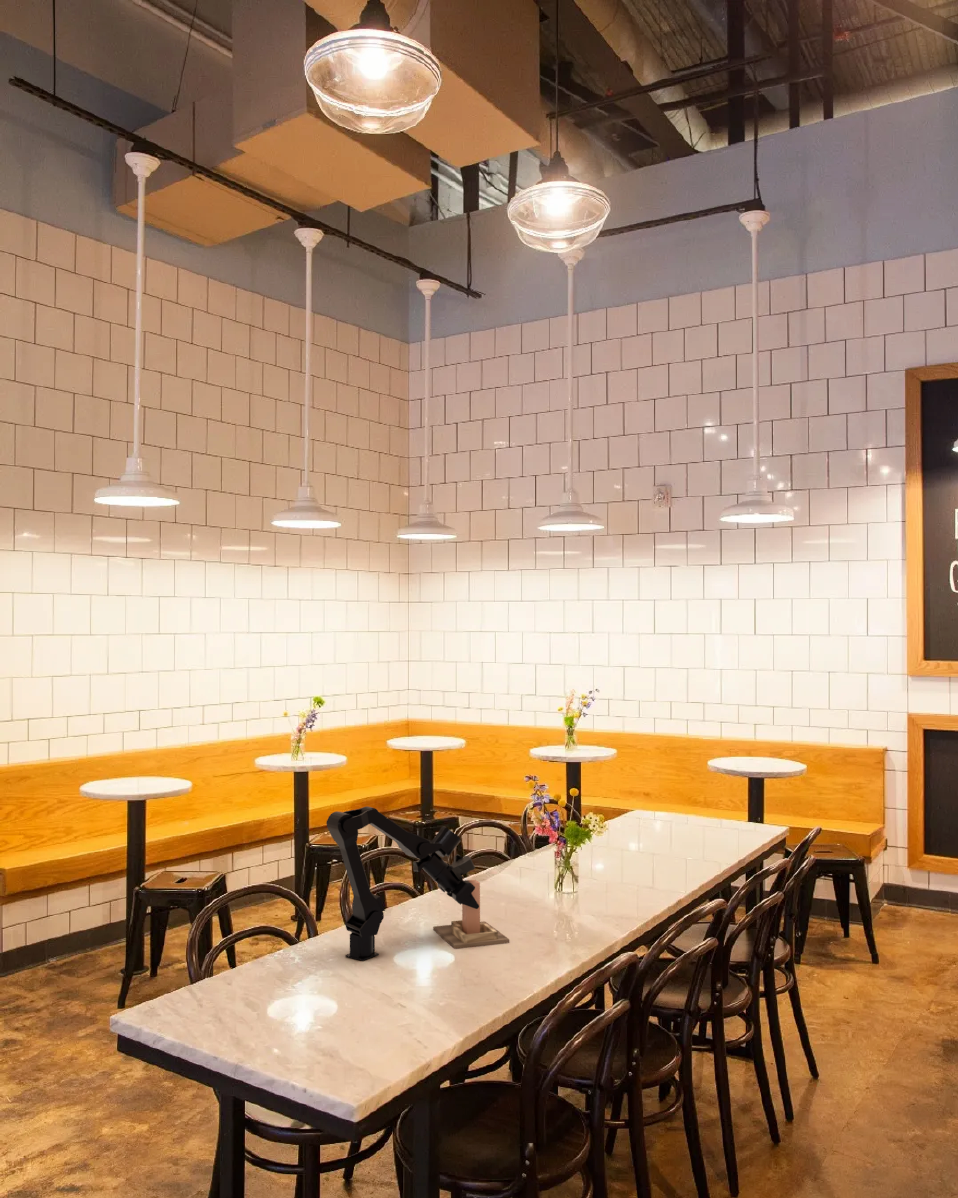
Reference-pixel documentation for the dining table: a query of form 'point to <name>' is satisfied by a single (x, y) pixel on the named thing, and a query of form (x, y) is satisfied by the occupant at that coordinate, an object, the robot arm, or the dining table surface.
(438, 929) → the square socket board
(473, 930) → the terracotta post
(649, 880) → the dining table surface
